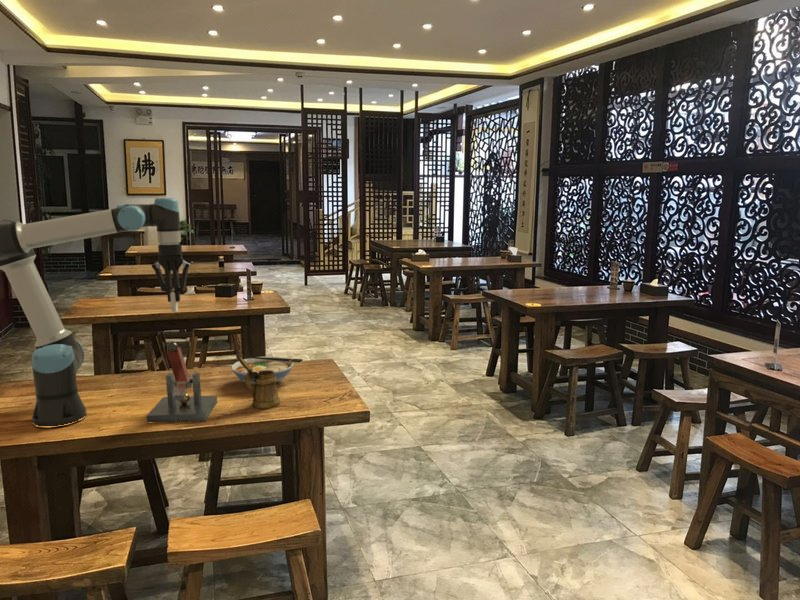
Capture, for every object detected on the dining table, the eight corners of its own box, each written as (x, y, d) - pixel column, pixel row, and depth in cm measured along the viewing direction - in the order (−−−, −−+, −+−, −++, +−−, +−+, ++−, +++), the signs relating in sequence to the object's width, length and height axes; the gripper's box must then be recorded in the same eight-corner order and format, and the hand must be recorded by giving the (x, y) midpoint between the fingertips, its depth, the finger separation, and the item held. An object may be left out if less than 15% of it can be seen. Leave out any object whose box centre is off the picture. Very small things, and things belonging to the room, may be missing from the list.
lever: (170, 400, 198) (156, 360, 185) (175, 380, 204) (162, 339, 191) (189, 400, 199) (176, 359, 185) (194, 380, 205) (182, 339, 192)
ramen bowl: (217, 390, 224) (216, 368, 223) (250, 371, 246) (249, 352, 244) (279, 396, 217) (278, 374, 215) (307, 377, 238) (306, 356, 237)
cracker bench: (147, 423, 193) (143, 385, 191) (163, 404, 210) (160, 369, 208) (205, 421, 195) (202, 383, 192) (217, 402, 211) (215, 367, 209)
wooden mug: (239, 402, 211) (236, 351, 208) (279, 398, 215) (276, 348, 211) (239, 411, 203) (236, 358, 200) (281, 407, 206) (278, 355, 203)
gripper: (191, 242, 215) (196, 308, 219) (153, 242, 214) (159, 309, 218) (186, 244, 207) (191, 312, 212) (146, 244, 206) (152, 313, 211)
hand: (174, 310), depth 215 cm, fingers closed
